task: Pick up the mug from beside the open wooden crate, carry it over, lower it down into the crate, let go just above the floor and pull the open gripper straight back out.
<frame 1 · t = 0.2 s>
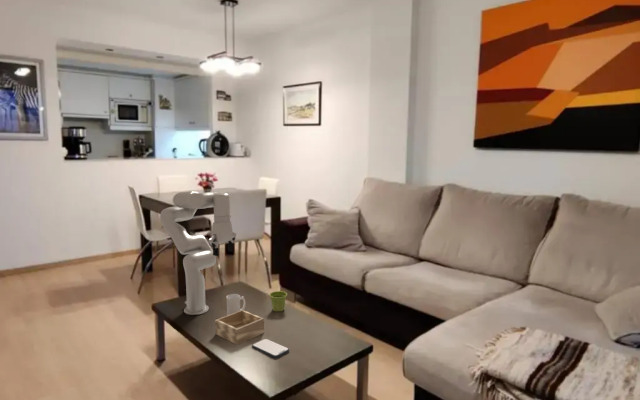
hand: (223, 253, 205), 36 cm above the table, tool pointing down, fingers open, 9 cm apart
plant pot: (278, 310, 227), on the table
open wooden crate: (240, 333, 199), on the table
smartphone: (270, 350, 184), on the table
mug: (236, 318, 216), on the table
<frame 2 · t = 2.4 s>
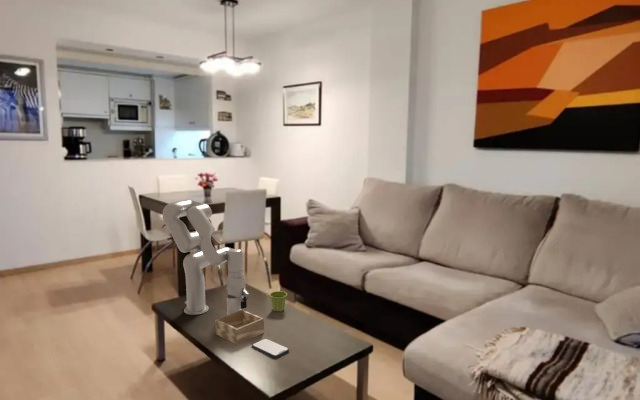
hand: (237, 306, 215), 6 cm above the table, tool pointing down, fingers open, 9 cm apart
nothing on the table moved.
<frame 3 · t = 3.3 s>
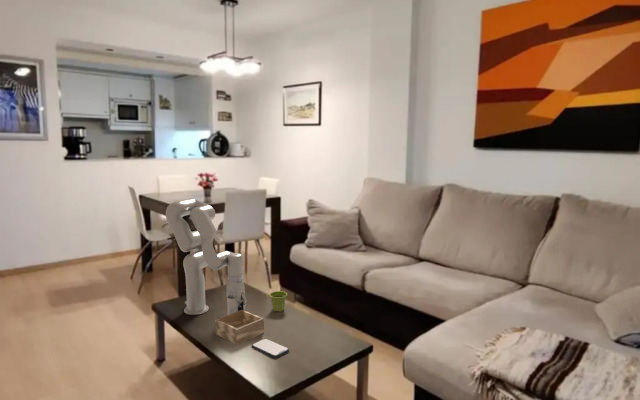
hand: (236, 311, 216), 4 cm above the table, tool pointing down, fingers closed on mug, 6 cm apart
mug: (237, 318, 216), on the table, touching gripper
everything else where it was.
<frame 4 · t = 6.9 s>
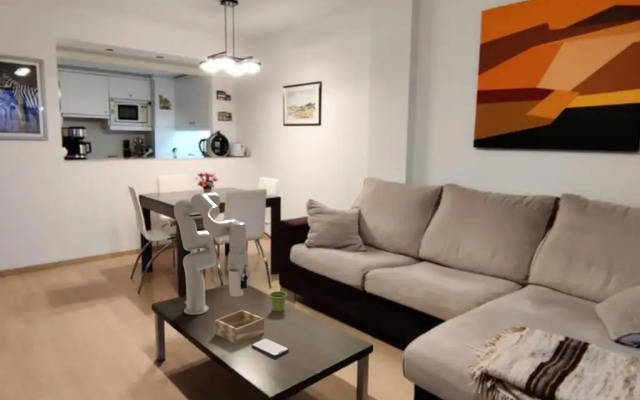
hand: (238, 286, 196), 23 cm above the table, tool pointing down, fingers closed on mug, 6 cm apart
mug: (239, 294, 196), point 19 cm above the table, touching gripper
everything else where it was.
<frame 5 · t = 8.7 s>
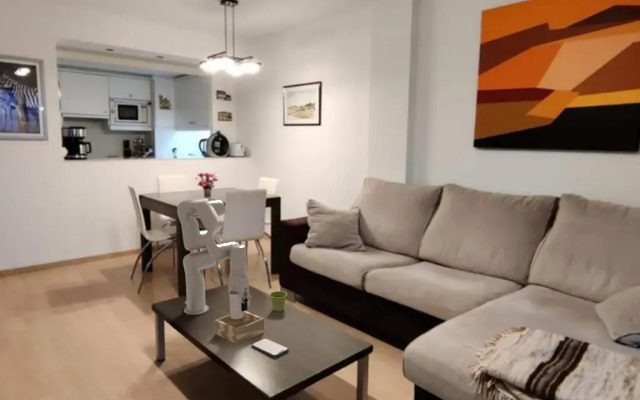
hand: (239, 308, 197), 12 cm above the table, tool pointing down, fingers closed on mug, 6 cm apart
mug: (240, 316, 197), point 9 cm above the table, touching gripper
everything else where it was.
when the fingers open (6 cm above the table, at t = 10.5 s): mug drops 1 cm, resting on open wooden crate.
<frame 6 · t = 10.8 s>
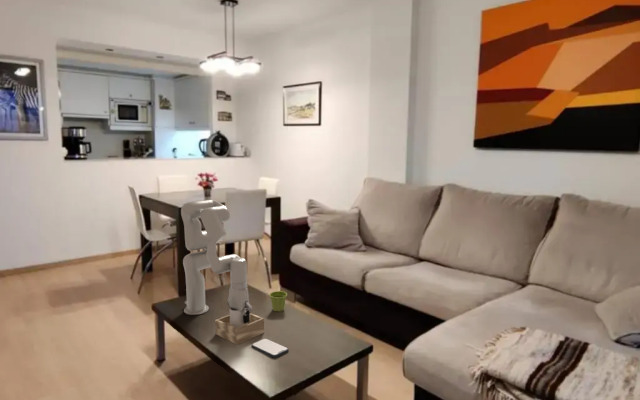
hand: (239, 319, 198), 7 cm above the table, tool pointing down, fingers open, 9 cm apart
mug: (240, 331, 199), point 1 cm above the table, touching open wooden crate
everything else where it was.
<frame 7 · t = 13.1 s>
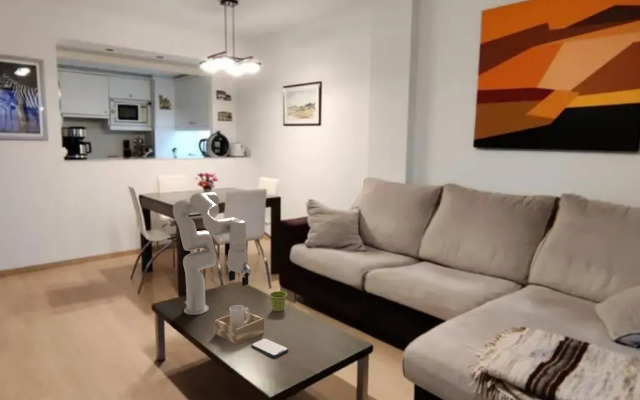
hand: (238, 282, 197), 25 cm above the table, tool pointing down, fingers open, 9 cm apart
nothing on the table moved.
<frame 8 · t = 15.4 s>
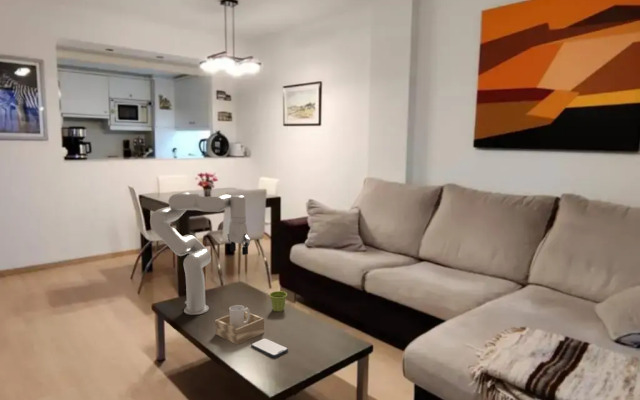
hand: (239, 252, 216), 33 cm above the table, tool pointing down, fingers open, 9 cm apart
nothing on the table moved.
at the end: mug inside the target area on the open wooden crate (0.3 cm from its centre), point 0.8 cm above the open wooden crate's base; mug tilted 0°; the gripper is holding nothing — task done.
